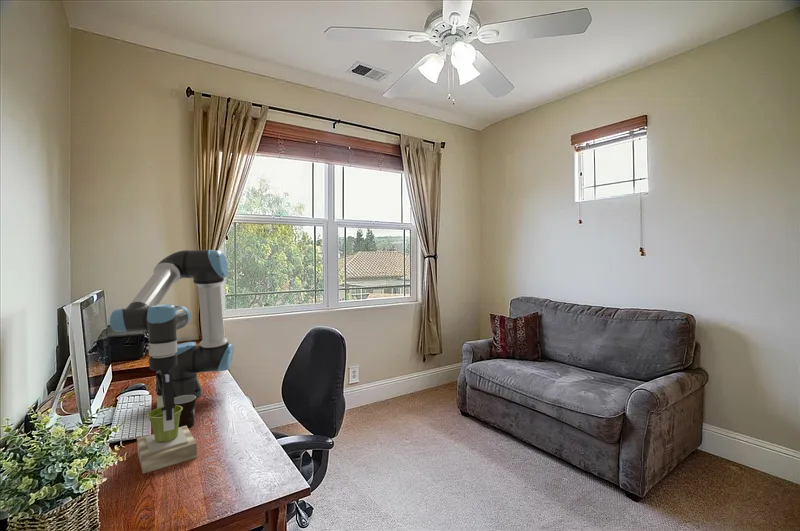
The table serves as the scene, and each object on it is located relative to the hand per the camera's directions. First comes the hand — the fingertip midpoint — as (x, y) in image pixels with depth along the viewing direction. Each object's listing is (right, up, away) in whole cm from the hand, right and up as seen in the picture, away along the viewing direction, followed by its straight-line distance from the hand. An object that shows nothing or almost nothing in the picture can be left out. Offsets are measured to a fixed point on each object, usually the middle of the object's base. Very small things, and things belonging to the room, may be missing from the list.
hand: (165, 422), depth 121 cm
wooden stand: (0, -10, 0) cm, 10 cm away
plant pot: (0, -5, +1) cm, 5 cm away
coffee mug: (-5, -10, +22) cm, 24 cm away
